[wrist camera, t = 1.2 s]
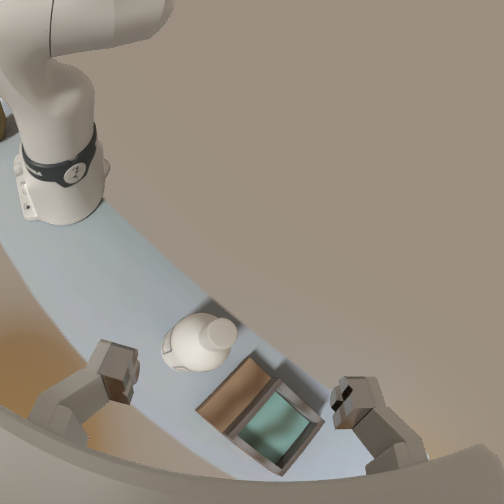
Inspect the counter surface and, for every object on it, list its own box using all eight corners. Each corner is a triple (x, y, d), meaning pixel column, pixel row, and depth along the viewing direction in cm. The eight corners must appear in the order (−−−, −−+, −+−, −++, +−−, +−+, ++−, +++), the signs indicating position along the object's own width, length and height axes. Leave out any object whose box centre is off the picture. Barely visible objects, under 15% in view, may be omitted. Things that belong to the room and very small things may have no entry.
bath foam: (213, 355, 43) (272, 342, 27) (177, 380, 40) (215, 386, 23) (188, 319, 44) (230, 282, 27) (151, 342, 40) (169, 320, 24)
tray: (195, 410, 39) (202, 414, 35) (245, 358, 45) (256, 356, 41) (272, 472, 38) (286, 479, 34) (313, 422, 45) (328, 424, 41)
